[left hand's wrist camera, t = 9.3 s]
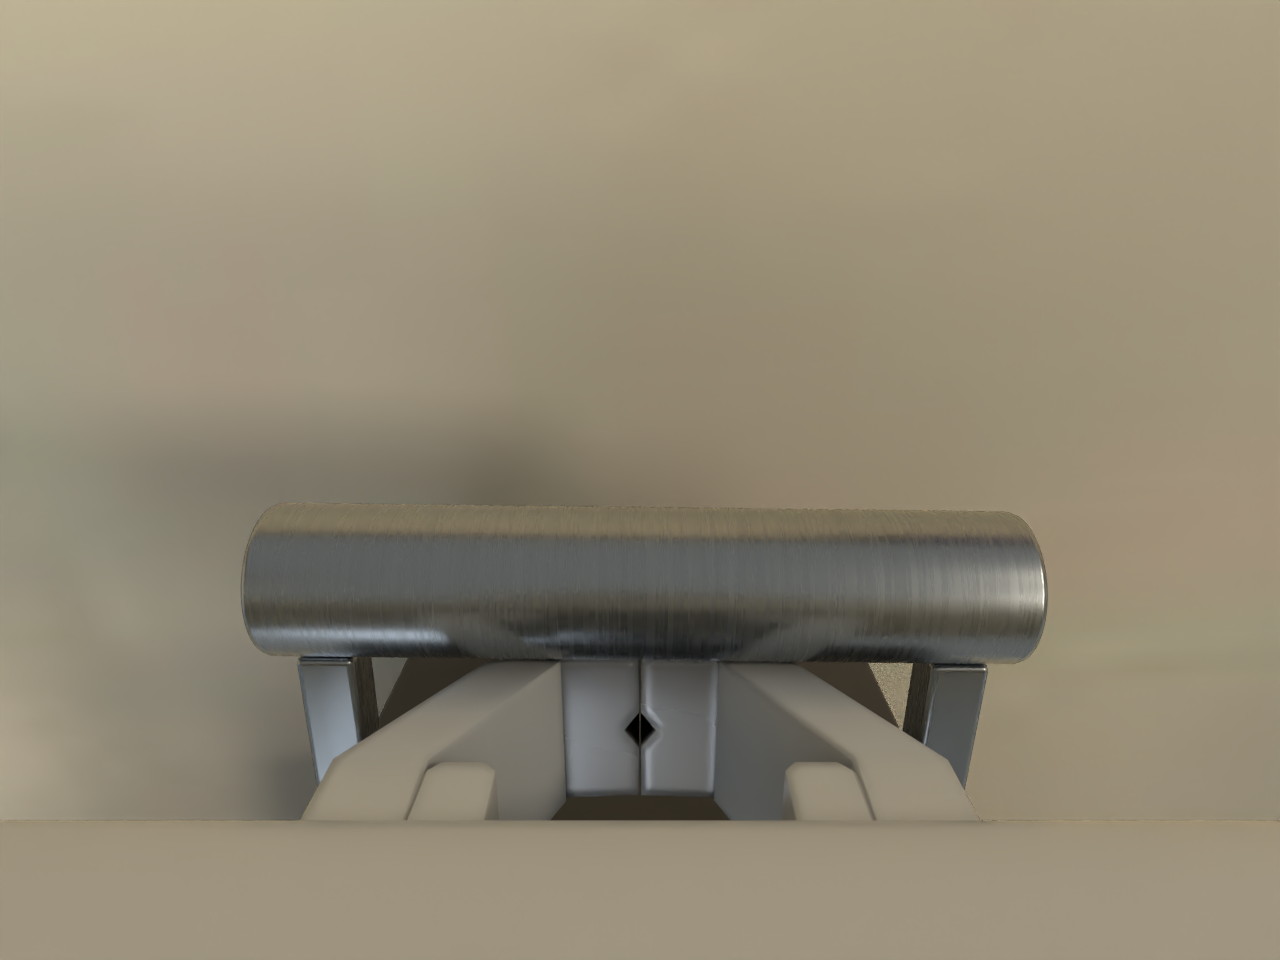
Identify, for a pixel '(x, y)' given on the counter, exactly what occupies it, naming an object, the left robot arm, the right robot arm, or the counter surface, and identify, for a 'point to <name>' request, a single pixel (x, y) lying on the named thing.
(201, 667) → the counter surface
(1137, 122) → the counter surface
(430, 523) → the drawer
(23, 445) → the counter surface
